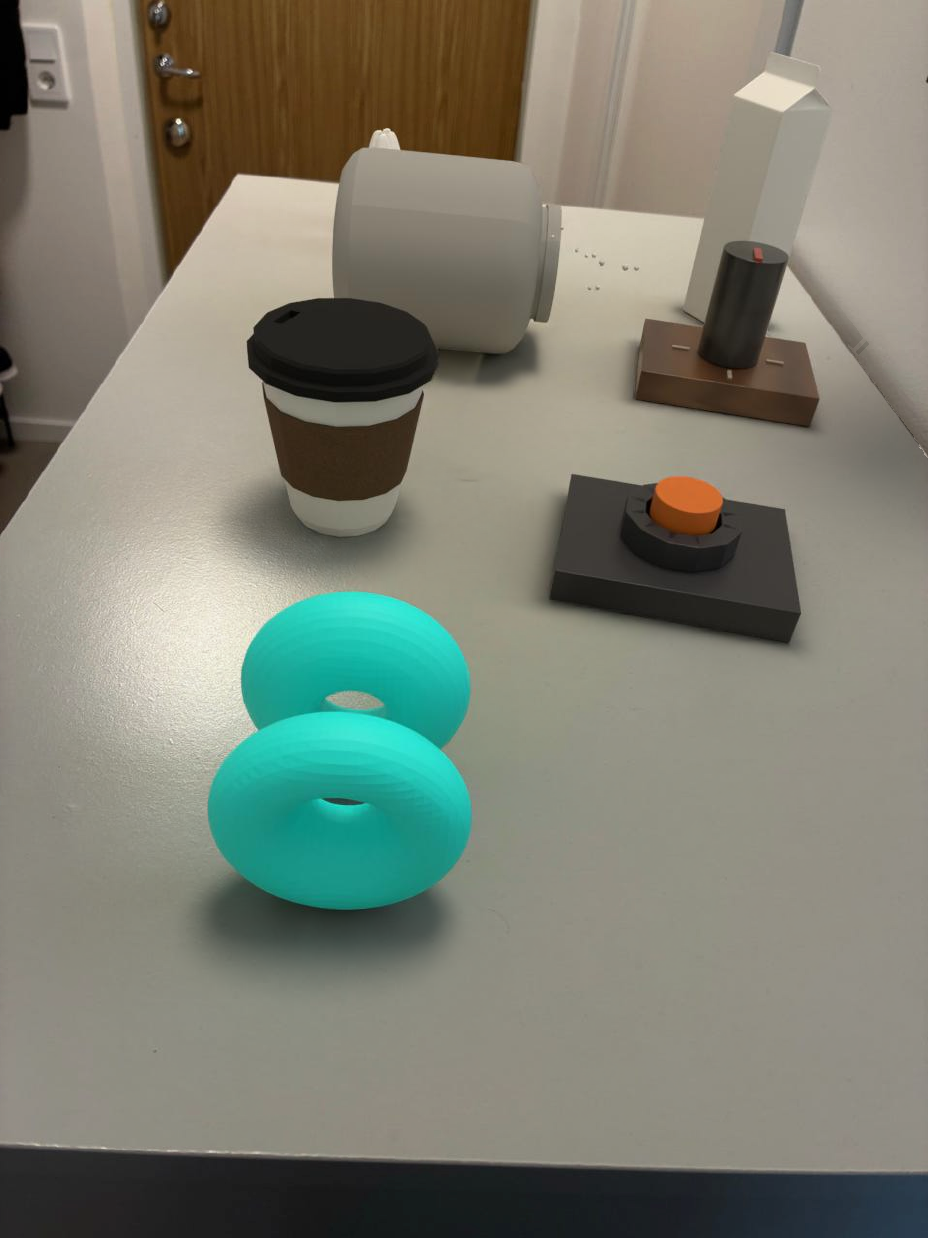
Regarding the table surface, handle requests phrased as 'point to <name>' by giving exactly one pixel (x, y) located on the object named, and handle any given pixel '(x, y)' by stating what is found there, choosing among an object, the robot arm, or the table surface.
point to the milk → (762, 168)
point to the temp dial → (742, 303)
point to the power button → (686, 505)
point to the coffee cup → (342, 405)
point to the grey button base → (676, 562)
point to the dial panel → (725, 376)
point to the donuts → (346, 756)
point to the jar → (448, 244)
